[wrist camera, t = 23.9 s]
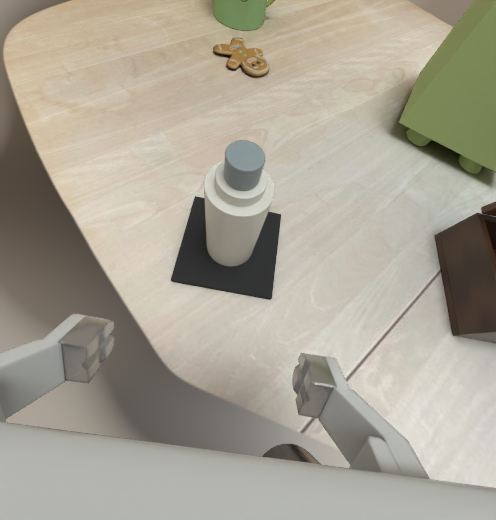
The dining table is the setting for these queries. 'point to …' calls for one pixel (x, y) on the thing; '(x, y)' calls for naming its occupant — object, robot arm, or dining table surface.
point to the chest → (470, 276)
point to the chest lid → (489, 209)
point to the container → (459, 92)
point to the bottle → (236, 203)
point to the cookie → (243, 57)
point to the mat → (227, 277)
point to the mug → (241, 13)
